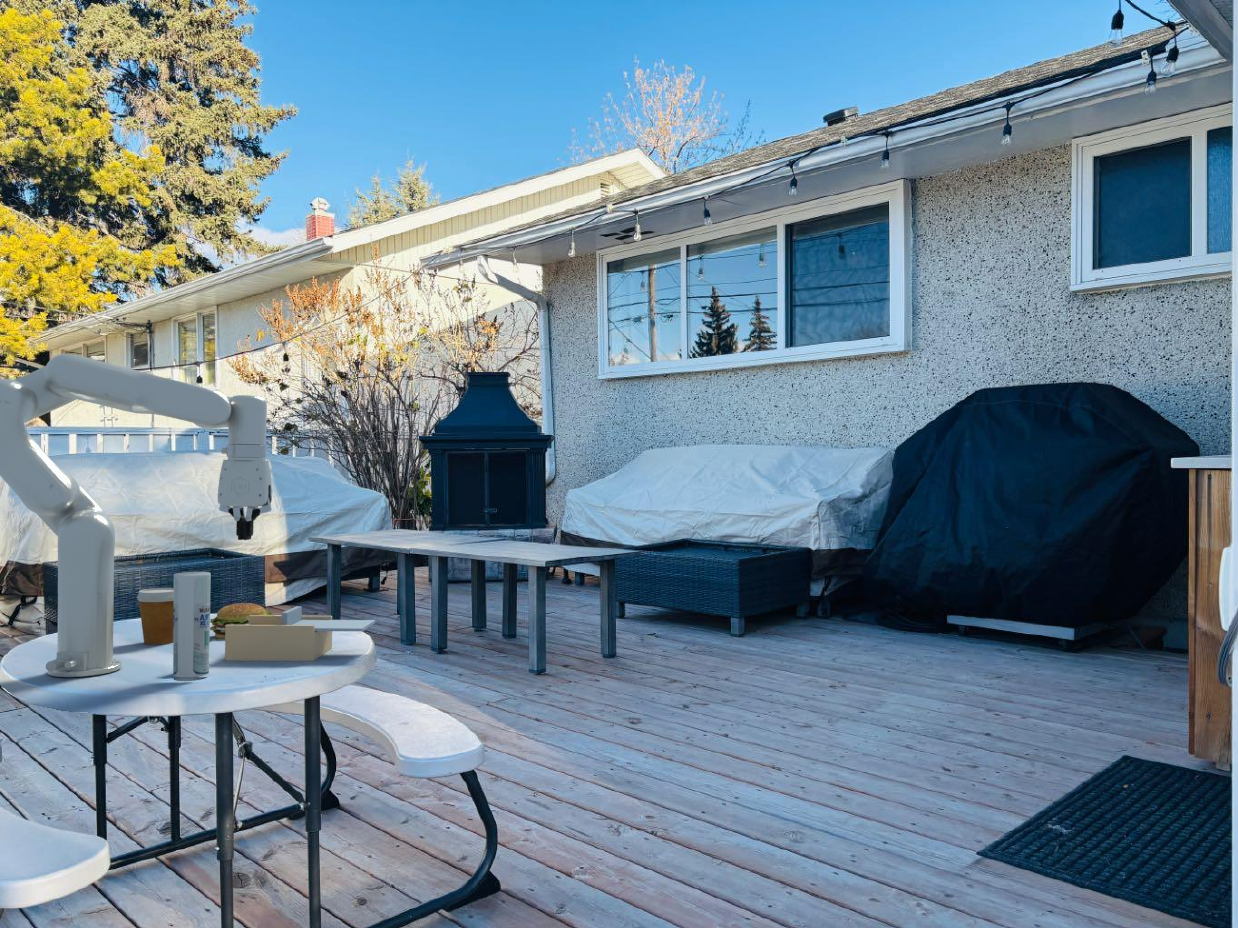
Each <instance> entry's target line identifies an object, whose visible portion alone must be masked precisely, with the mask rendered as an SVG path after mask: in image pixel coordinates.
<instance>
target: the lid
mask: <svg viewBox="0 0 1238 928" xmlns="http://www.w3.org/2000/svg"><path fill="white" fill-rule="evenodd" d="M302 608H303V607H302V606H297V605H296V606H293V607H292V608H290V609H289V608H288V609H287V610H284V611H283V612H281V615H282V617H281V625H315V631H332V632H364V631H365V630H367V629H368V628H370V627H371V626H373V625H374V624H376V620H375V619H365V620H364V619H332V620H302V616H303V615H302V614H303V611H302Z"/></svg>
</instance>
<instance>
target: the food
mask: <svg viewBox="0 0 1238 928" xmlns="http://www.w3.org/2000/svg"><path fill="white" fill-rule="evenodd" d="M249 615H275V613H272V612H271V611H268V610H266V609H265V608H264V607H263V606H261V605H259V604H255V603H250V602H240V603H239V602H238V603H232V604H228V605H225V606H224V607H222V608H220V609H219V610H218V611H217V613H216V616H215V617H214V618H210V624H211V626H210V631H213V633H214V637H215V638H216V639H218V640H225V625H245V624H248V621H249Z"/></svg>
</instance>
